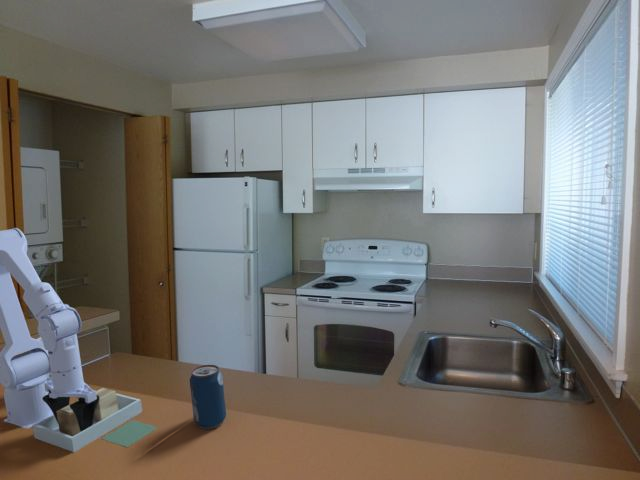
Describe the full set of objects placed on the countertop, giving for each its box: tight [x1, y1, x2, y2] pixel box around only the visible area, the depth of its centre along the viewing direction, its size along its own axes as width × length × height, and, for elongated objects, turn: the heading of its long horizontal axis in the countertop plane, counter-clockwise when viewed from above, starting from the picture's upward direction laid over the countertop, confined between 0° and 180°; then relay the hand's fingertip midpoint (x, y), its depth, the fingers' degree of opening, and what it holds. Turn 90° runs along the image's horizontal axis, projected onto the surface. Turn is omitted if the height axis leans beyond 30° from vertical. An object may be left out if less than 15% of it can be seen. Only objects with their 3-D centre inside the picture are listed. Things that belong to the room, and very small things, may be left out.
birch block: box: [93, 387, 118, 422], centre depth 110 cm, size 4×4×6 cm
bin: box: [32, 392, 143, 453], centre depth 108 cm, size 13×17×4 cm
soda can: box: [189, 364, 227, 430], centre depth 106 cm, size 7×7×12 cm
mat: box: [100, 419, 159, 448], centre depth 103 cm, size 8×8×1 cm
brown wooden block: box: [56, 401, 81, 436], centre depth 104 cm, size 4×4×6 cm
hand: (75, 426), depth 105 cm, fingers open, 7 cm apart
